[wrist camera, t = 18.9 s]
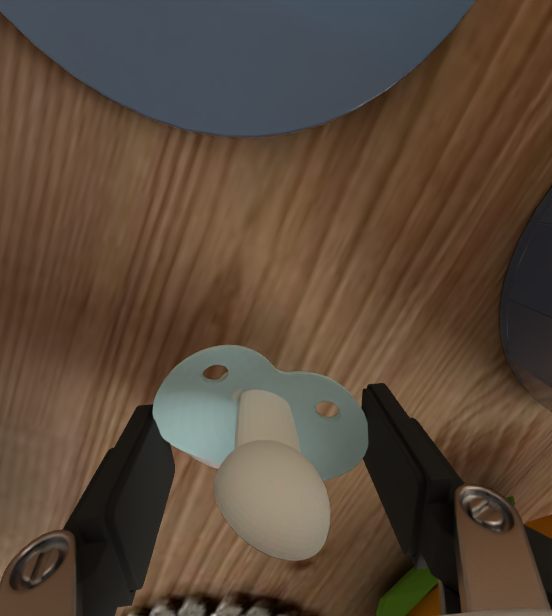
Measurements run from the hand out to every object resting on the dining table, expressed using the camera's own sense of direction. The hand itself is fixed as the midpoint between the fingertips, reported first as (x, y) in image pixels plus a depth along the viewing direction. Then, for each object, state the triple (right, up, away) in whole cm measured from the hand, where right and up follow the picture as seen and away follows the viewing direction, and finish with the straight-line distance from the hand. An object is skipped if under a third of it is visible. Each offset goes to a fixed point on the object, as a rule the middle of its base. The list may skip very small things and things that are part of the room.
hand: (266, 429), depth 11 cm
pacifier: (-1, 0, +2) cm, 2 cm away
